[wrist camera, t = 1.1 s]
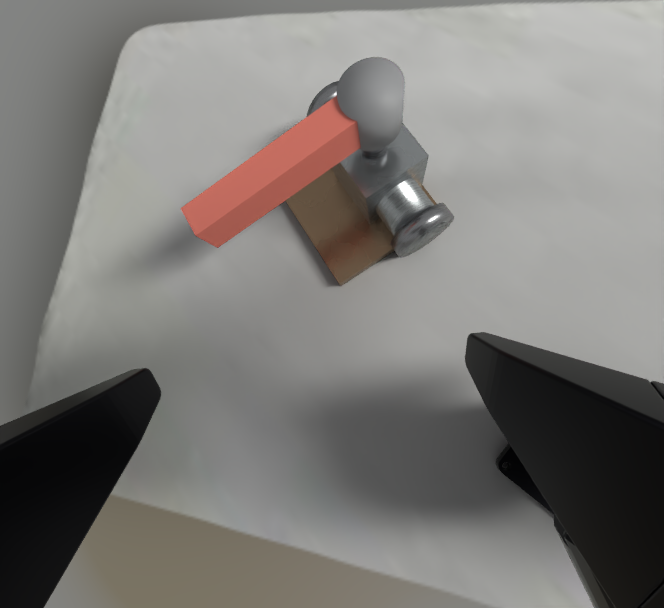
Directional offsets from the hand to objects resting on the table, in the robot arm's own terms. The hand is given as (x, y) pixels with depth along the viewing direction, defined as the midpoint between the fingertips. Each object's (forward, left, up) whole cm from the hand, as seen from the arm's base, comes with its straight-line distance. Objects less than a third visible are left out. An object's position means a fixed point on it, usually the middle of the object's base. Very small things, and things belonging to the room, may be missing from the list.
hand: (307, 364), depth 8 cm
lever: (+8, -6, -7) cm, 12 cm away
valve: (+7, -9, -14) cm, 18 cm away
